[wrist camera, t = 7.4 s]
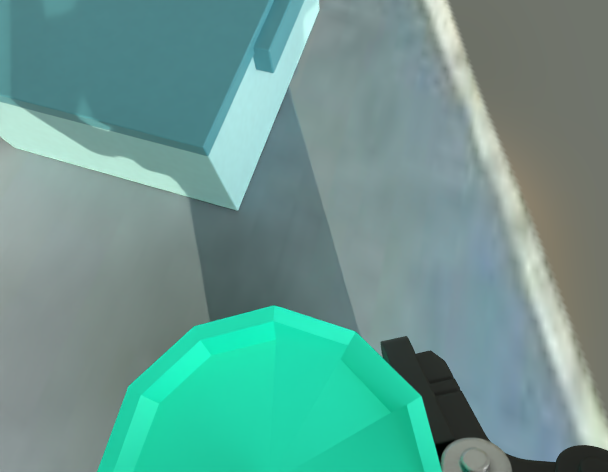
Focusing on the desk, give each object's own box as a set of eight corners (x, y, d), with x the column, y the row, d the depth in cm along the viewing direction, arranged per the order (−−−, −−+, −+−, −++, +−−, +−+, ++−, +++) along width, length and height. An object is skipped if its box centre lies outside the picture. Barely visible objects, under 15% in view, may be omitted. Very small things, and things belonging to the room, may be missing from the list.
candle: (338, 577, 16) (320, 980, 5) (199, 471, 17) (-68, 583, 6) (420, 416, 17) (557, 429, 6) (286, 331, 19) (198, 218, 8)
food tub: (-10, 151, 23) (-136, 59, 17) (107, -38, 27) (38, -168, 21) (257, 228, 21) (220, 152, 14) (342, 6, 25) (342, -127, 18)
